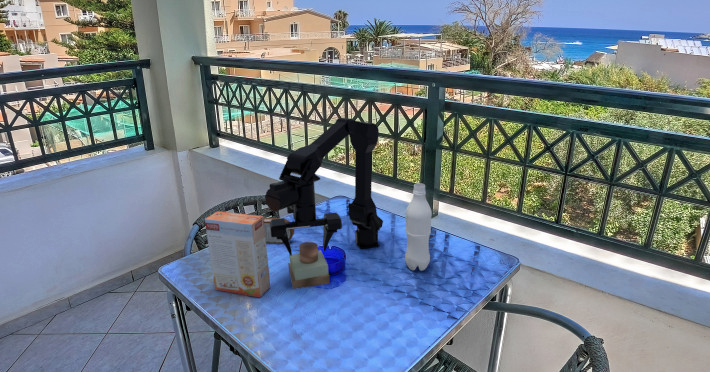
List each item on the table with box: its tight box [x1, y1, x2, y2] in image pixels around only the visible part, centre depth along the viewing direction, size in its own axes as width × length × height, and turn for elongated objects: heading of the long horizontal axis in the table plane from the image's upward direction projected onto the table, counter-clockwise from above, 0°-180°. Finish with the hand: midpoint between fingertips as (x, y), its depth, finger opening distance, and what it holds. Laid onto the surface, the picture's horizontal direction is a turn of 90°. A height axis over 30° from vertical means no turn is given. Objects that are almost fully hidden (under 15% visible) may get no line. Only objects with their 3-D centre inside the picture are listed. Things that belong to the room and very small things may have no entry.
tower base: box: [288, 262, 331, 290], centre depth 117 cm, size 10×10×3 cm
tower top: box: [288, 249, 329, 280], centre depth 116 cm, size 9×9×3 cm
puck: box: [298, 241, 319, 263], centre depth 115 cm, size 5×5×4 cm
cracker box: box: [204, 210, 271, 298], centre depth 109 cm, size 14×6×21 cm, turn 71°
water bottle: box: [404, 182, 433, 272], centre depth 117 cm, size 7×7×25 cm
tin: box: [263, 217, 295, 245], centre depth 137 cm, size 15×3×8 cm, turn 84°
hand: (307, 252), depth 115 cm, fingers open, 9 cm apart
